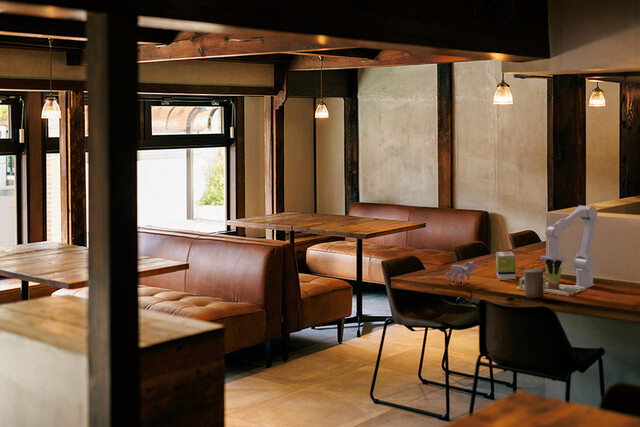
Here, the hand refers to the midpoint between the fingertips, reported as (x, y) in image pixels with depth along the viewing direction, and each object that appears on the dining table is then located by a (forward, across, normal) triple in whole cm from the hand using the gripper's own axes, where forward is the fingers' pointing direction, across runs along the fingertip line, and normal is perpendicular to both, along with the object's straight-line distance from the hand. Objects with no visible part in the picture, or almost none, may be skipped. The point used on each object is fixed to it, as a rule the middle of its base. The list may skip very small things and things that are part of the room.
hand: (553, 273), depth 426 cm
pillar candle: (+10, -3, -16) cm, 19 cm away
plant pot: (+10, -12, +23) cm, 28 cm away
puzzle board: (+9, -3, +2) cm, 10 cm away
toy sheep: (+10, -50, -10) cm, 52 cm away
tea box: (+10, -40, +18) cm, 45 cm away
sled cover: (+8, -12, 0) cm, 15 cm away
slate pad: (+8, +8, +1) cm, 11 cm away
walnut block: (+10, 0, 0) cm, 10 cm away
